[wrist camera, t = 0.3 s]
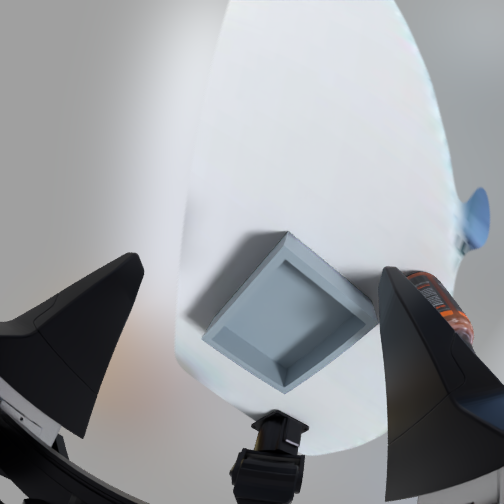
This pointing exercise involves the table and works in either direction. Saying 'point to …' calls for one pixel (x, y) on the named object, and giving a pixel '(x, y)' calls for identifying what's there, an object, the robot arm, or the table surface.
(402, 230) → the table surface
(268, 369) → the tote
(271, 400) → the table surface
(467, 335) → the supplement bottle
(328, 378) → the table surface
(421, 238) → the table surface
